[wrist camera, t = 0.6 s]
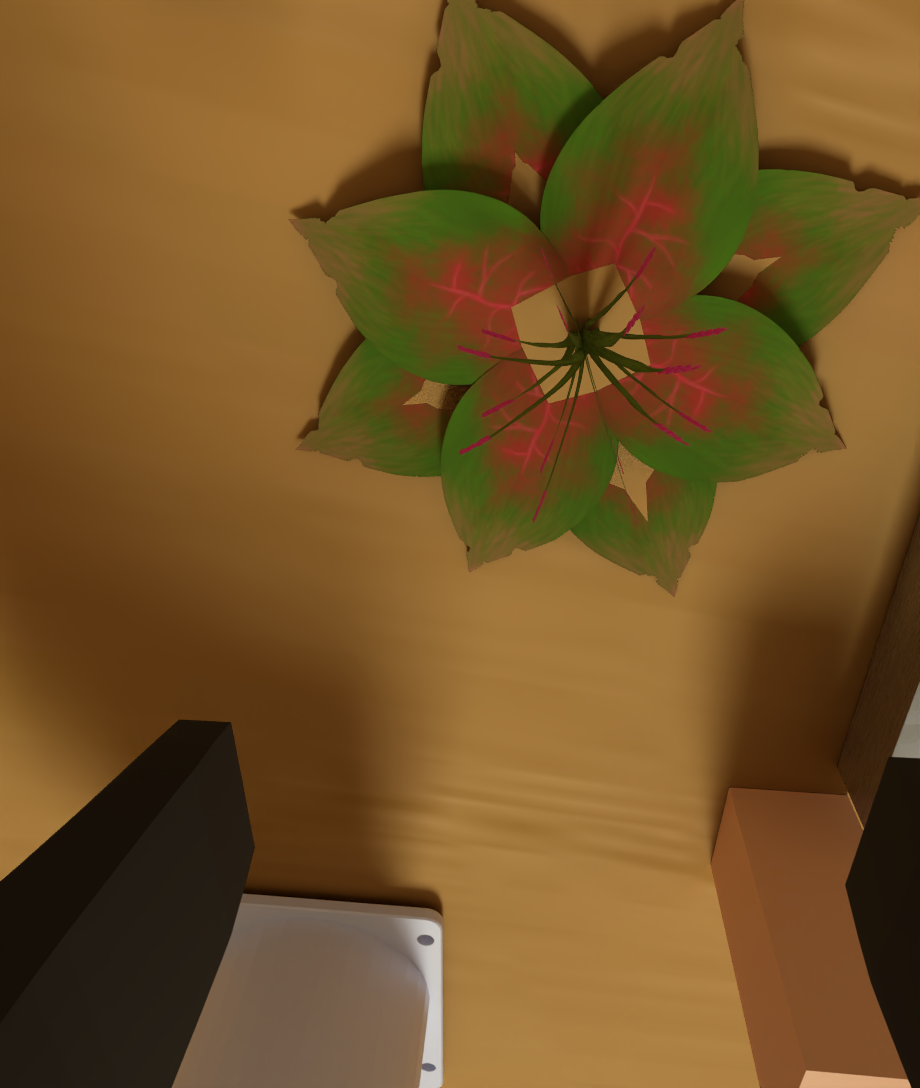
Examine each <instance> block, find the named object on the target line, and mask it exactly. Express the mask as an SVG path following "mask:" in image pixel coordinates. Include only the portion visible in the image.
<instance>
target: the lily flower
mask: <svg viewBox="0 0 920 1088" xmlns="http://www.w3.org/2000/svg"><path fill="white" fill-rule="evenodd" d="M447 2H448V3H449V5H448V6H447V7H446V8H445V10H444V16H443V21H442V27H441V31H440V36H439V40H438V45H437V46H438V47H437V51H438V53H437V55H438V56H439V58H440V61H441V62H440V63H441V67H440V68H439V70H438V71H437V72H435V73H433V75H432V76H431V78H430V83H429V88H428V94H427V100H426V105H425V112H424V119H423V131H422V150H423V152H422V173H423V182H424V188H425V191H419V192H413V193H406V194H401V195H396V196H391V197H386V198H381V199H377V200H373V201H370V202H366V203H363V204H359V205H355V206H352V207H349V208H346V209H343V210H340V211H338V213H337V214H336V215H335V216H336V217H334V216H333V217H332V218H330V220H328V221H327V222H326V224H325V222H324V221H323V222H322V221H320V218H319V219H317V218H309V219H289V221H290V222H291V223H292V224H293V226H294V227H295V228H296V229H297V231H298V232H299V233H300V234H301V235H302V236H303V237H304V238H305V239H306V240H307V239H308V242H309V243H308V244H309V247H310V249H311V250H312V252H313V254H314V255H315V257H316V259H317V261H318V263H319V264H320V266H321V268H322V270H323V272H324V273H325V275H327V276H328V277H330V278H331V277H332V278H334V279H335V280H336V281H337V289H336V295H337V297H338V298H339V300H340V302H341V304H342V305H343V307H344V309H345V310H346V312H347V313H348V315H349V317H350V318H351V320H352V321H353V323H354V324H355V326H356V327H357V329H358V330H359V331H360V332H361V333H362V334H363V336H364V337H365V338H366V339H365V340H364V341H363V342H362V344H361V345H360V346H359V347H358V348H357V349H356V351H355V352H354V353H353V354H352V356H351V357H350V359H349V360H348V361H347V363H346V364H345V366H344V367H343V369H342V370H341V372H340V373H339V375H338V377H337V378H336V380H335V382H334V384H333V386H332V388H331V389H330V391H329V393H328V395H327V397H326V399H325V401H324V403H323V405H322V407H321V410H320V412H319V419H320V420H318V421H319V423H318V424H319V426H318V427H319V428H318V429H319V430H316V431H313V430H312V431H311V432H310V433H309V434H308V435H307V436H306V438H305V439H304V441H303V442H302V443H301V444H300V445H299V446H298V447H297V448H296V449H295V450H303V451H317V450H319V451H320V453H322V454H325V455H329V456H332V457H336V458H339V459H342V460H346V461H348V460H349V461H350V460H352V459H354V458H355V459H356V458H358V459H359V460H361V461H362V464H363V465H364V467H368V468H371V469H375V470H378V471H382V472H386V473H390V474H395V475H403V476H419V477H430V476H441V478H442V487H443V493H444V498H445V502H446V505H447V508H448V511H449V514H450V516H451V519H452V521H453V524H454V526H455V529H456V531H457V534H458V536H459V538H460V540H462V541H464V542H465V544H466V545H468V547H470V548H471V549H469V550H470V551H469V552H467V555H466V556H467V560H468V569H469V572H471V571H473V570H474V569H476V568H478V567H480V566H481V565H482V564H484V563H483V562H486V563H489V562H491V561H494V560H497V559H500V558H503V557H507V556H509V555H510V554H512V551H513V550H514V548H519V549H521V550H524V551H526V550H529V549H532V548H535V547H538V546H540V545H543V544H546V543H548V542H551V541H553V540H555V539H557V538H558V537H560V536H561V535H563V534H564V533H566V532H567V531H568V530H569V529H570V530H571V531H572V532H573V533H574V535H576V536H577V537H578V538H579V539H580V540H581V541H582V542H583V543H584V544H585V545H587V546H588V547H589V548H591V549H592V550H593V551H594V552H596V553H597V554H599V555H601V556H603V557H604V558H606V559H608V560H609V561H611V562H613V563H615V564H617V565H620V566H621V567H624V568H626V569H627V570H630V571H632V572H634V573H636V574H638V575H645V574H647V575H649V576H651V575H652V576H656V578H657V580H656V582H657V583H658V585H660V586H661V587H663V588H664V589H666V590H667V591H668V592H669V593H670V594H671V595H672V596H673V597H675V593H676V589H677V582H678V580H677V578H679V577H681V575H682V572H683V570H684V568H685V566H686V564H687V563H688V561H689V558H690V552H689V549H688V548H689V547H690V546H691V545H695V544H697V543H698V542H699V540H700V538H701V536H702V534H703V531H704V529H705V527H706V525H707V522H708V520H709V517H710V514H711V511H712V507H713V502H714V497H715V492H716V485H717V482H736V481H742V480H745V479H748V478H752V477H755V476H758V475H761V474H764V473H767V472H770V471H772V470H775V469H778V468H781V467H784V466H786V465H789V464H791V463H794V462H797V461H798V459H800V457H802V455H803V456H804V455H805V454H807V453H808V451H810V450H811V449H812V448H813V449H814V450H815V449H817V452H821V453H822V452H826V451H831V450H839V449H846V447H845V445H844V444H843V442H842V441H841V439H840V438H838V436H837V435H834V433H835V428H834V425H833V423H832V420H831V417H830V414H829V412H828V410H827V409H825V408H822V407H821V406H819V402H820V400H821V399H822V398H823V396H824V395H823V392H822V390H821V387H820V384H819V382H818V379H817V377H816V375H815V373H814V371H813V369H812V367H811V365H810V364H809V362H808V360H807V359H806V357H805V356H804V354H803V353H802V352H801V351H800V349H799V347H798V346H799V345H801V344H802V343H804V342H806V341H807V340H808V339H810V338H811V337H813V336H814V335H815V334H817V333H818V332H819V331H820V330H822V329H823V328H824V327H825V326H826V325H827V324H829V323H830V322H831V321H832V320H833V319H834V318H835V317H836V316H837V315H838V314H840V313H841V311H842V310H843V309H844V308H845V307H846V306H847V305H848V304H849V303H850V301H851V300H852V299H853V298H854V297H855V295H856V294H857V293H858V292H859V291H860V289H861V288H862V287H863V285H864V284H865V283H866V282H867V280H868V279H869V278H870V277H871V275H872V274H873V273H874V271H875V270H876V268H877V267H878V266H879V264H880V263H881V262H882V260H883V259H884V258H885V256H886V255H887V254H888V252H889V247H890V246H889V245H890V244H889V243H890V242H892V239H893V238H894V234H895V231H896V229H895V228H898V229H899V228H900V227H901V226H902V227H903V228H905V227H906V226H908V225H910V224H911V222H913V221H914V220H915V219H916V218H917V216H918V215H919V214H920V198H915V199H914V198H913V199H912V198H910V199H908V200H906V199H905V197H904V196H902V195H898V194H894V193H890V192H886V191H883V190H880V189H877V188H876V189H875V188H872V189H868V190H866V191H863V192H862V191H861V192H858V191H857V190H856V189H855V184H854V182H853V181H849V180H845V179H841V178H837V177H833V176H829V175H825V174H819V173H812V172H806V171H796V170H789V171H787V170H782V169H780V170H779V169H765V170H758V167H759V163H758V162H759V145H758V144H759V143H758V130H757V120H756V113H755V106H754V99H753V93H752V86H751V79H750V73H749V68H748V66H746V64H745V63H744V61H742V59H743V58H742V57H741V54H740V53H739V51H738V49H737V46H735V45H736V44H738V39H742V34H743V8H744V0H736V1H735V2H733V3H732V4H731V5H730V6H729V7H728V8H727V9H726V11H725V12H724V13H723V14H722V16H721V19H718V20H717V19H715V20H713V21H711V22H710V23H709V24H707V25H706V26H704V27H703V28H701V29H700V30H698V31H697V32H696V33H694V34H693V35H691V36H690V37H688V38H686V39H685V41H683V42H681V45H679V48H678V51H677V52H676V54H675V56H673V57H670V58H666V57H664V56H663V57H662V56H659V57H658V58H657V59H655V60H654V61H652V62H651V63H649V64H648V65H647V66H645V67H644V68H642V69H641V70H640V71H638V72H637V73H636V74H634V75H633V76H632V77H630V78H629V79H628V80H626V81H625V82H624V83H623V84H622V85H620V86H619V87H618V88H617V89H616V90H614V91H613V92H612V93H611V94H610V95H609V96H607V98H605V99H604V100H603V99H602V98H601V96H600V95H599V93H598V92H597V91H596V90H595V88H594V87H593V86H592V84H591V83H590V82H589V81H588V80H587V78H586V77H585V76H584V75H583V74H582V73H581V72H580V71H579V70H578V69H577V68H576V67H575V66H574V65H573V64H572V63H571V62H570V61H568V60H567V59H566V58H565V57H564V56H563V55H562V54H561V53H559V52H558V51H557V50H556V49H554V48H553V47H552V46H551V45H550V44H548V43H547V42H546V41H544V40H543V39H542V38H540V37H539V36H537V35H536V34H534V33H533V32H532V31H530V30H528V29H527V28H526V27H524V26H523V25H521V24H519V23H518V22H517V21H515V20H513V19H512V18H511V17H509V16H507V15H506V14H504V13H503V12H501V11H498V12H497V11H495V12H494V11H493V12H492V13H491V9H490V10H488V9H487V8H486V9H482V8H479V7H478V9H477V4H476V2H475V0H447ZM515 152H516V153H517V155H518V156H519V158H520V159H521V160H522V162H524V163H527V164H529V165H530V166H531V167H532V168H533V169H534V170H535V171H536V172H537V173H539V174H540V175H541V176H542V177H543V178H544V179H546V180H547V183H546V186H545V190H544V194H543V198H542V204H541V214H540V230H539V229H538V228H537V226H536V225H535V224H534V223H533V222H532V221H531V220H529V219H528V218H527V217H526V216H525V215H523V214H522V213H520V212H519V211H518V210H516V209H515V208H513V207H511V206H510V205H508V204H507V201H508V196H509V190H510V183H511V176H512V171H513V169H514V167H515ZM734 254H738V255H745V256H747V257H749V258H751V259H753V260H756V259H765V258H773V257H781V258H779V259H778V260H777V261H775V262H774V263H772V264H771V265H770V266H768V267H767V268H766V269H764V270H763V271H761V272H760V273H759V274H758V275H757V277H756V279H755V281H754V283H753V285H752V287H751V288H750V289H749V290H748V291H747V292H746V293H745V294H744V295H743V296H742V297H741V298H740V299H739V300H738V301H734V300H730V299H726V298H722V297H716V296H708V295H696V294H697V293H699V292H700V291H701V290H703V289H704V288H705V287H706V286H708V285H709V284H710V283H711V282H712V281H713V280H714V279H715V278H716V277H717V276H718V275H719V274H720V273H721V271H722V270H723V269H724V268H725V267H726V265H727V264H728V262H729V261H730V260H731V258H732V257H733V255H734ZM613 263H615V265H616V267H617V269H618V271H619V274H620V276H621V278H622V280H623V283H624V285H625V287H626V289H625V290H623V291H622V292H621V293H619V294H618V295H617V297H616V298H615V299H614V300H613V301H612V302H611V303H610V304H609V305H608V306H606V307H605V308H604V309H603V310H602V311H601V312H600V313H598V314H597V315H596V316H595V317H594V318H593V319H591V320H590V319H588V321H587V323H586V325H585V327H584V329H583V331H582V334H580V331H579V329H578V334H577V333H575V332H573V331H571V332H569V330H568V328H567V326H566V323H565V321H564V319H563V316H562V314H561V312H560V310H559V309H558V310H559V313H560V315H561V318H562V320H563V322H564V325H565V327H566V330H567V332H568V336H567V338H566V339H565V340H564V341H562V342H559V343H530V342H524V341H520V339H519V335H518V332H517V328H516V324H515V321H514V317H513V313H512V309H511V307H513V306H514V305H516V304H518V303H520V302H522V301H524V300H526V299H528V298H530V297H531V296H533V295H535V294H537V293H539V292H541V291H543V290H545V289H547V288H548V287H550V286H552V285H554V284H556V283H558V282H560V281H562V280H563V279H565V278H567V277H569V276H571V275H575V274H578V273H582V272H585V271H589V270H592V269H596V268H599V267H603V266H606V265H610V264H613ZM556 287H557V285H556ZM557 289H558V287H557ZM558 291H559V289H558ZM626 291H627V292H628V294H629V296H630V299H631V301H632V303H633V305H634V308H635V310H636V312H637V314H636V313H635V315H634V316H633V318H632V320H631V321H629V323H628V325H627V327H626V328H625V329H624V330H623V331H622V332H620V333H609V332H603V331H600V330H599V328H597V329H595V330H592V331H590V332H589V331H588V330H587V328H588V327H590V326H591V325H592V324H593V323H595V322H596V321H597V320H598V319H599V318H601V317H602V316H603V315H605V314H606V313H607V312H608V311H609V310H610V308H611V307H612V306H613V305H614V304H615V303H616V302H617V301H618V300H619V299H620V298H621V297H622V296H623V294H624V293H625V292H626ZM559 293H560V291H559ZM560 295H561V293H560ZM561 297H562V295H561ZM562 299H563V297H562ZM563 302H564V304H565V306H566V308H567V310H568V312H569V314H570V316H571V317H572V319H573V321H574V323H575V325H576V327H577V328H578V326H577V323H576V320H574V318H573V316H572V314H571V312H570V310H569V308H568V307H567V305H566V303H565V301H564V299H563ZM556 304H557V303H556ZM557 307H558V306H557ZM638 319H640V321H641V325H642V329H643V333H644V335H634V334H626V333H628V332H629V330H630V328H631V326H632V327H633V325H634V324H635V321H636V320H638ZM593 335H596V336H593ZM581 338H582V339H581ZM620 338H623V339H645V342H646V346H647V351H648V355H649V359H650V364H651V365H649V366H647V365H645V364H643V363H641V362H639V361H636V360H633V359H629V358H626V357H624V356H621V355H619V354H617V353H615V352H613V351H611V350H609V349H606V348H604V347H612V346H613V345H614V344H615V343H616V342H617V341H618V340H619V339H620ZM520 342H521V343H525V344H529V345H533V346H538V347H551V348H565V347H567V350H566V352H565V354H564V356H563V358H562V359H561V360H555V361H545V360H530V359H527V357H526V355H525V353H524V351H523V348H522V347H521V343H520ZM575 347H576V349H575ZM574 349H575V353H574V354H573V355H572V353H573V351H574ZM588 353H589V354H590V356H591V358H592V359H593V360H594V362H595V363H596V364H597V366H598V367H599V368H600V369H601V371H602V372H603V373H604V374H605V376H606V377H607V378H608V379H609V380H610V382H611V383H612V384H610V385H608V386H606V387H604V388H602V389H600V390H598V391H597V390H596V392H595V389H594V386H593V389H594V392H592V393H588V394H584V395H580V396H578V392H579V388H580V383H581V379H582V374H583V368H584V360H586V357H587V355H588ZM599 356H600V357H602V358H604V359H606V360H608V361H610V362H612V363H614V364H615V365H617V366H618V367H619V368H620V369H621V370H622V371H623V372H624V373H625V374H627V375H628V376H627V377H625V378H623V379H621V380H617V379H616V378H615V377H614V375H613V374H612V373H611V372H610V371H609V369H608V368H607V367H606V366H605V365H604V363H603V362H602V361H601V359H600V358H599ZM587 361H588V358H587V360H586V364H587ZM530 364H538V365H550V366H555V367H554V368H553V369H552V370H551V371H550V372H548V373H547V374H546V375H545V376H543V377H542V378H541V379H540V380H537V378H536V376H535V374H534V372H533V370H532V368H531V365H530ZM568 365H572V366H571V368H570V369H569V371H568V372H567V373H566V375H565V376H564V377H563V378H562V379H561V381H560V382H559V383H558V384H557V385H556V386H555V387H554V388H553V389H551V390H550V391H549V392H548V393H547V394H545V395H544V393H543V391H542V389H541V387H540V385H539V384H541V383H542V382H543V381H544V380H545V379H547V378H548V377H549V376H550V375H552V374H553V373H554V372H555V371H557V370H558V369H559V368H560V367H561V366H568ZM588 365H589V362H588V364H587V367H588ZM579 367H580V370H579V377H578V383H577V388H576V392H575V397H573V398H569V395H570V392H571V388H572V385H573V382H574V378H575V374H576V371H577V370H578V368H579ZM624 367H626V368H628V369H630V370H632V371H634V372H635V373H633V374H631V373H629V372H628V371H627V370H626V369H625V368H624ZM589 368H590V365H589V367H588V371H589ZM590 372H591V369H590V371H589V375H590ZM591 375H592V373H591ZM591 375H590V378H591ZM571 377H572V380H571V384H570V388H569V392H568V395H567V398H566V399H565V400H561V401H557V402H553V403H549V404H548V402H547V398H548V397H550V396H551V395H552V394H554V393H555V392H556V391H557V390H559V389H560V388H561V387H562V386H563V385H564V384H565V383H566V382H567V381H568V380H569V379H570V378H571ZM592 378H593V376H592ZM426 379H427V380H430V381H433V382H438V383H443V384H451V385H468V384H473V385H472V386H471V387H470V389H469V390H468V391H467V392H466V393H465V395H464V396H463V397H462V399H461V400H460V402H459V403H458V405H457V406H456V408H455V410H454V411H453V410H444V409H437V408H435V407H433V406H431V405H429V404H427V403H425V404H413V405H403V404H404V403H405V402H406V401H408V400H409V399H410V398H412V397H413V396H414V395H416V394H417V393H418V392H420V391H421V389H422V386H423V383H424V381H425V380H426ZM591 382H592V379H591ZM593 382H594V380H593ZM593 382H592V385H593ZM594 385H595V383H594ZM595 388H596V386H595ZM568 398H569V399H568ZM619 441H620V443H621V444H622V445H623V446H624V447H625V448H626V449H627V450H628V451H629V452H630V453H631V454H632V455H633V456H635V457H636V458H637V459H638V460H640V461H641V462H643V463H644V464H646V465H648V466H649V467H651V468H653V469H655V470H654V471H653V473H652V474H651V476H650V477H649V479H648V480H647V482H646V490H647V511H648V522H647V521H646V519H645V518H644V516H643V515H642V514H641V512H640V511H639V509H638V508H637V507H636V505H635V504H634V502H633V501H632V500H631V498H630V497H629V495H628V494H627V492H626V491H625V490H626V489H625V490H624V489H622V488H620V487H617V486H614V485H612V484H609V482H610V480H611V478H612V475H613V472H614V469H615V465H616V462H617V461H616V460H617V456H618V442H619ZM618 460H619V458H618ZM619 463H620V461H619ZM617 465H618V464H617ZM620 466H621V463H620ZM618 468H619V467H618ZM621 468H622V466H621ZM622 471H623V469H622ZM619 472H620V470H619ZM623 474H624V473H623ZM620 475H621V473H620ZM621 478H622V477H621ZM622 481H623V480H622ZM623 484H624V483H623ZM624 487H625V486H624Z"/></svg>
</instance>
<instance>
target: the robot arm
mask: <svg viewBox="0 0 920 1088" xmlns="http://www.w3.org/2000/svg"><path fill="white" fill-rule="evenodd" d="M254 848H255V846H254V841H253V836H252V830H251V825H250V820H249V815H248V809H247V804H246V799H245V793H244V788H243V783H242V778H241V772H240V767H239V762H238V757H237V751H236V746H235V741H234V735H233V730H232V725H231V722H215V721H195V720H178V721H177V722H176V723H175V724H174V725H173V726H172V727H171V728H169V729H168V730H167V731H166V732H165V733H164V734H163V735H162V736H160V737H159V738H158V739H157V740H156V741H155V742H154V743H153V744H152V745H150V746H149V747H148V748H147V749H146V750H145V751H144V752H143V753H142V754H141V755H140V756H139V757H137V758H136V759H135V760H134V761H133V762H132V763H131V764H130V765H129V766H128V767H127V768H126V769H124V770H123V771H122V772H121V773H120V774H119V775H118V776H117V777H116V778H115V779H114V780H113V781H112V782H111V783H109V784H108V785H107V786H106V787H105V788H104V789H103V790H102V791H101V792H100V793H99V794H98V795H96V796H95V797H94V798H93V799H92V800H91V801H90V802H89V803H88V804H87V805H86V806H85V807H83V808H82V809H81V810H80V811H79V812H78V813H77V814H76V815H75V816H74V817H72V818H71V819H70V820H69V821H68V822H67V823H66V824H65V825H64V826H62V827H61V828H60V829H59V830H58V831H57V832H56V833H55V834H53V835H52V836H51V837H50V838H49V839H48V840H47V841H46V842H44V843H43V844H42V845H41V846H40V847H39V848H38V849H37V850H36V851H34V852H33V853H32V854H31V855H30V856H29V857H28V858H27V859H25V860H24V861H23V862H22V863H21V864H20V865H19V866H18V867H16V868H15V869H14V870H13V871H12V872H11V873H10V874H8V875H7V876H6V877H5V878H4V879H3V880H1V881H0V1088H439V1087H441V1086H442V1084H443V1077H444V996H443V918H442V916H441V915H440V914H439V913H438V912H437V911H435V910H433V909H429V908H419V907H407V906H394V905H382V904H369V903H356V902H344V901H331V900H319V899H306V898H294V897H281V896H269V895H256V894H243V891H244V887H245V883H246V879H247V875H248V872H249V868H250V864H251V860H252V856H253V852H254ZM845 887H846V891H847V895H848V899H849V903H850V907H851V911H852V915H853V919H854V923H855V927H856V931H857V935H858V939H859V943H860V946H861V950H862V953H863V957H864V961H865V964H866V968H867V971H868V975H869V979H870V982H871V985H872V987H873V990H874V993H875V995H876V998H877V1001H878V1003H879V1006H880V1009H881V1011H882V1014H883V1016H884V1019H885V1022H886V1024H887V1027H888V1029H889V1032H890V1035H891V1037H892V1040H893V1042H894V1045H895V1047H896V1050H897V1053H898V1055H899V1058H900V1060H901V1063H902V1066H903V1068H904V1071H905V1073H906V1076H907V1078H908V1081H909V1083H910V1086H911V1088H920V758H906V757H888V760H887V763H886V766H885V769H884V772H883V775H882V778H881V781H880V784H879V787H878V790H877V792H876V795H875V798H874V801H873V804H872V807H871V810H870V813H869V816H868V819H867V822H866V825H865V828H864V831H863V834H862V836H861V839H860V842H859V845H858V848H857V851H856V854H855V857H854V860H853V863H852V866H851V869H850V872H849V875H848V878H847V881H846V883H845Z"/></svg>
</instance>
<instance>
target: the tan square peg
mask: <svg viewBox="0 0 920 1088" xmlns="http://www.w3.org/2000/svg"><path fill="white" fill-rule="evenodd" d="M862 834H863V830H862V828H861V826H860V823H859V821H858V819H857V816H856V814H855V812H854V809H853V807H852V805H851V803H850V800H849V798H848V796H847V795H835V794H820V793H805V792H790V791H775V790H761V789H746V788H731V787H729V790H728V795H727V799H726V803H725V807H724V811H723V815H722V820H721V824H720V828H719V832H718V836H717V840H716V845H715V849H714V853H713V857H712V861H711V868H712V873H713V877H714V882H715V886H716V891H717V895H718V900H719V904H720V909H721V913H722V918H723V922H724V927H725V931H726V936H727V940H728V945H729V949H730V954H731V958H732V963H733V967H734V972H735V977H736V981H737V986H738V990H739V995H740V999H741V1004H742V1008H743V1013H744V1017H745V1022H746V1026H747V1031H748V1035H749V1040H750V1044H751V1049H752V1053H753V1058H754V1062H755V1067H756V1071H757V1076H758V1080H759V1085H760V1088H911V1086H910V1083H909V1081H908V1078H907V1076H906V1073H905V1071H904V1068H903V1066H902V1063H901V1060H900V1058H899V1055H898V1053H897V1050H896V1047H895V1045H894V1042H893V1040H892V1037H891V1035H890V1032H889V1029H888V1027H887V1024H886V1022H885V1019H884V1016H883V1014H882V1011H881V1009H880V1006H879V1003H878V1001H877V998H876V995H875V993H874V990H873V987H872V985H871V982H870V979H869V975H868V971H867V968H866V964H865V961H864V957H863V953H862V950H861V946H860V943H859V939H858V935H857V931H856V927H855V923H854V919H853V915H852V911H851V907H850V903H849V899H848V895H847V891H846V887H845V883H846V881H847V878H848V875H849V872H850V869H851V866H852V863H853V860H854V857H855V854H856V851H857V848H858V845H859V842H860V839H861V836H862Z"/></svg>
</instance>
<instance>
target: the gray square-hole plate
mask: <svg viewBox="0 0 920 1088" xmlns="http://www.w3.org/2000/svg"><path fill="white" fill-rule="evenodd" d="M888 757H906V758H920V515H919V518H918V521H917V524H916V527H915V530H914V533H913V536H912V539H911V542H910V546H909V549H908V552H907V555H906V558H905V561H904V564H903V567H902V570H901V573H900V576H899V579H898V582H897V585H896V588H895V591H894V594H893V598H892V601H891V604H890V607H889V610H888V613H887V616H886V619H885V622H884V625H883V628H882V631H881V634H880V637H879V640H878V643H877V647H876V650H875V653H874V656H873V659H872V662H871V665H870V668H869V671H868V674H867V677H866V680H865V683H864V686H863V689H862V692H861V695H860V699H859V702H858V705H857V708H856V711H855V714H854V717H853V720H852V723H851V726H850V729H849V732H848V735H847V738H846V741H845V744H844V747H843V751H842V754H841V757H840V760H839V763H838V766H837V768H838V770H839V772H840V774H841V777H842V779H843V781H844V784H845V786H846V788H847V790H848V793H849V795H850V797H851V800H852V802H853V804H854V806H855V809H856V811H857V813H858V815H859V818H860V820H861V822H862V825H863V827H864V828H865V825H866V822H867V819H868V816H869V813H870V810H871V807H872V804H873V801H874V798H875V795H876V792H877V790H878V787H879V784H880V781H881V778H882V775H883V772H884V769H885V766H886V763H887V760H888Z"/></svg>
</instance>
